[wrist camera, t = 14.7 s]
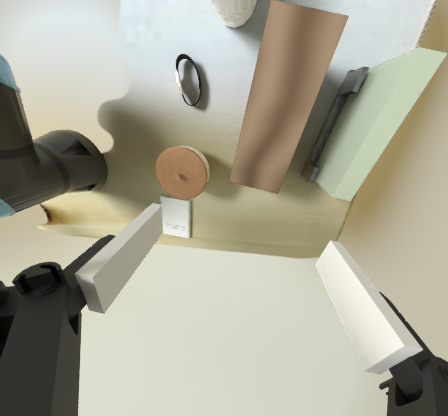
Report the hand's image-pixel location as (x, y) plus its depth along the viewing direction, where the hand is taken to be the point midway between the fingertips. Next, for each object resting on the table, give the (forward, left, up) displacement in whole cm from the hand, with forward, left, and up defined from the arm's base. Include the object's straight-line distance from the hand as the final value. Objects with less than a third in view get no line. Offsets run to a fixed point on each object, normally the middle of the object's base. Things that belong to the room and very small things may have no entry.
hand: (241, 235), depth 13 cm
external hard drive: (-15, -20, -29) cm, 38 cm away
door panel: (+15, +9, -27) cm, 32 cm away
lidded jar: (-12, -4, -28) cm, 31 cm away
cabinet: (+2, +9, -28) cm, 29 cm away
